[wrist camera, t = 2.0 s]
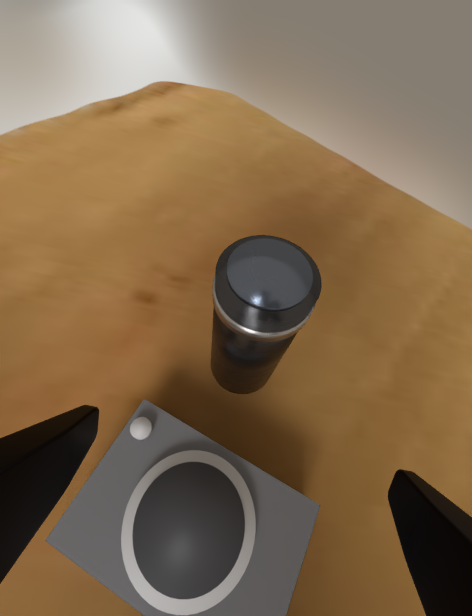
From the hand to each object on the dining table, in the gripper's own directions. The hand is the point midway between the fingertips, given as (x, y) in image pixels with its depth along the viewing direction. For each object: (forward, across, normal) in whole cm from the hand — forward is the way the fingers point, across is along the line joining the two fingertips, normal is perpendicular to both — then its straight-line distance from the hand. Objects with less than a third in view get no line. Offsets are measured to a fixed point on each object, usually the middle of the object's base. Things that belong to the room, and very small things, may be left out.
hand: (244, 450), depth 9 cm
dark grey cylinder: (+15, 0, +4) cm, 15 cm away
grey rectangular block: (+7, +1, +12) cm, 14 cm away
